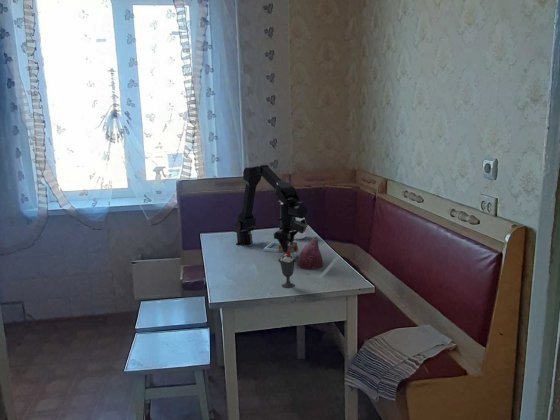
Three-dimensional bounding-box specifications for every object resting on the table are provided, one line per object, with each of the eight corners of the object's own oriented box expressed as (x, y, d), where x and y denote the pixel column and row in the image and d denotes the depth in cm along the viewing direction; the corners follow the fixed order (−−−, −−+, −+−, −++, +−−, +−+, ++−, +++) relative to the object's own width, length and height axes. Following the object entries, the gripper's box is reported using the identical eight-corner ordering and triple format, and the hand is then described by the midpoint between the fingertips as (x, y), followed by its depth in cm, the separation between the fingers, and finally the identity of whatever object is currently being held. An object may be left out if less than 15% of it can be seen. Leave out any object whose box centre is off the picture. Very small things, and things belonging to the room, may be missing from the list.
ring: (278, 252, 215) (278, 245, 214) (283, 248, 221) (283, 241, 220) (295, 253, 212) (294, 246, 212) (299, 249, 218) (299, 242, 218)
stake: (278, 260, 216) (277, 243, 214) (283, 255, 222) (283, 239, 220) (293, 261, 213) (292, 244, 212) (298, 256, 220) (297, 240, 218)
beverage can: (305, 239, 247) (304, 216, 245) (289, 240, 247) (288, 216, 245) (304, 235, 255) (304, 212, 253) (289, 236, 255) (288, 213, 253)
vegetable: (323, 272, 207) (333, 238, 205) (317, 277, 198) (327, 241, 195) (300, 264, 211) (309, 231, 208) (293, 269, 201) (302, 233, 198)
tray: (263, 252, 227) (263, 248, 227) (272, 246, 238) (272, 241, 237) (287, 254, 223) (287, 249, 223) (295, 247, 234) (295, 243, 233)
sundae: (291, 290, 180) (290, 250, 177) (276, 287, 183) (274, 248, 180) (300, 284, 185) (299, 245, 182) (285, 281, 189) (284, 243, 186)
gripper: (298, 220, 202) (299, 257, 205) (311, 211, 219) (311, 245, 223) (272, 219, 206) (274, 255, 209) (287, 210, 223) (288, 243, 226)
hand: (288, 249), depth 217 cm, fingers closed on ring, 6 cm apart
